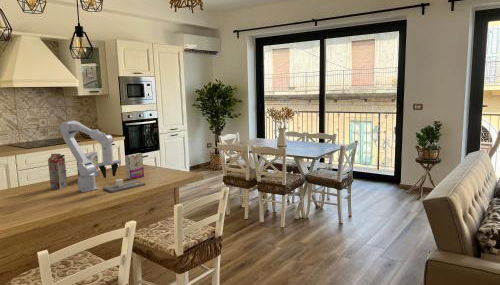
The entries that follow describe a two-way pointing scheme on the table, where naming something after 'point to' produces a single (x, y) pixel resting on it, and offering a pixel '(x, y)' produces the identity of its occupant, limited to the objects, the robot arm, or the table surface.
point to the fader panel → (126, 186)
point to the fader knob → (119, 182)
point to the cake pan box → (93, 158)
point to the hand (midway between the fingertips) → (109, 176)
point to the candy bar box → (134, 166)
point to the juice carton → (57, 171)
